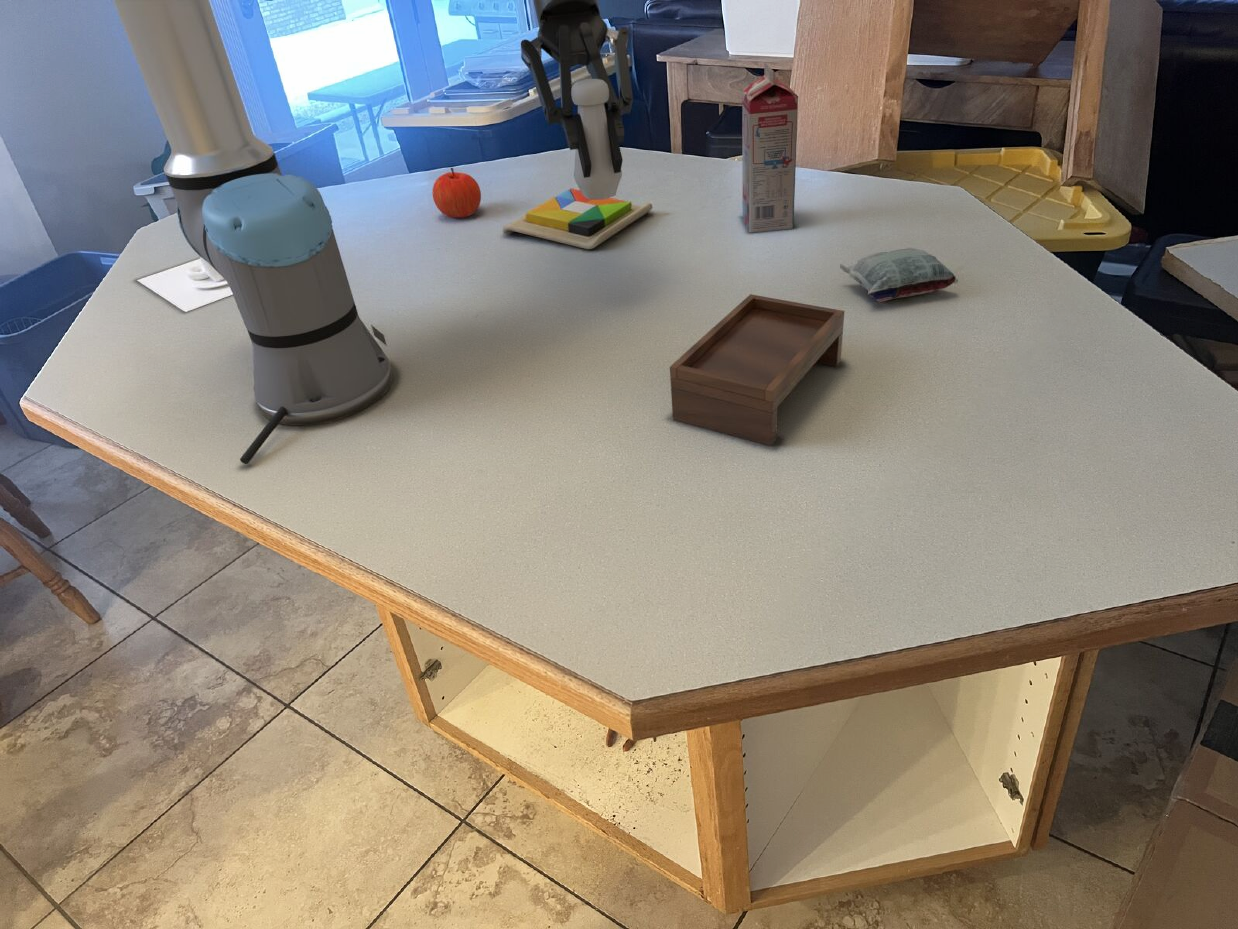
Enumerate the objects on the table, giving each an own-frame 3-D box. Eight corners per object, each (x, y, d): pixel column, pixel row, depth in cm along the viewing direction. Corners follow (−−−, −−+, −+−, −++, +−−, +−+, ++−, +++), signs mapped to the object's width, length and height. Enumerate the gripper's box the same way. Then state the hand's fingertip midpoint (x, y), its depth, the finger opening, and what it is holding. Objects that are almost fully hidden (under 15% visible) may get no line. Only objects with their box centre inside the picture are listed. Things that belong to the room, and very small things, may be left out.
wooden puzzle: (598, 252, 123) (596, 229, 120) (499, 237, 131) (496, 216, 129) (656, 213, 134) (654, 191, 132) (561, 201, 143) (559, 181, 141)
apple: (429, 217, 142) (418, 170, 138) (467, 204, 147) (458, 158, 142) (454, 226, 137) (443, 178, 133) (493, 212, 141) (484, 165, 137)
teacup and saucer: (182, 281, 128) (171, 256, 126) (231, 264, 132) (221, 240, 130) (204, 295, 123) (194, 269, 120) (254, 276, 127) (245, 251, 124)
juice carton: (749, 232, 124) (750, 74, 111) (742, 217, 129) (742, 64, 116) (793, 228, 123) (799, 69, 111) (784, 213, 129) (789, 60, 116)
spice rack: (771, 446, 79) (772, 391, 75) (672, 419, 84) (669, 366, 81) (840, 362, 91) (844, 310, 87) (749, 342, 96) (750, 293, 92)
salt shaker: (618, 202, 98) (608, 85, 91) (571, 202, 100) (558, 87, 92) (627, 186, 103) (618, 73, 95) (582, 187, 104) (570, 76, 97)
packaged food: (838, 284, 106) (841, 247, 103) (924, 269, 108) (929, 233, 105) (867, 313, 100) (871, 274, 97) (958, 297, 101) (965, 259, 98)
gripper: (624, 6, 104) (664, 175, 100) (498, 22, 102) (535, 195, 98) (630, -40, 97) (674, 141, 93) (495, -24, 95) (534, 161, 91)
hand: (603, 168), depth 96 cm, fingers closed on salt shaker, 3 cm apart
